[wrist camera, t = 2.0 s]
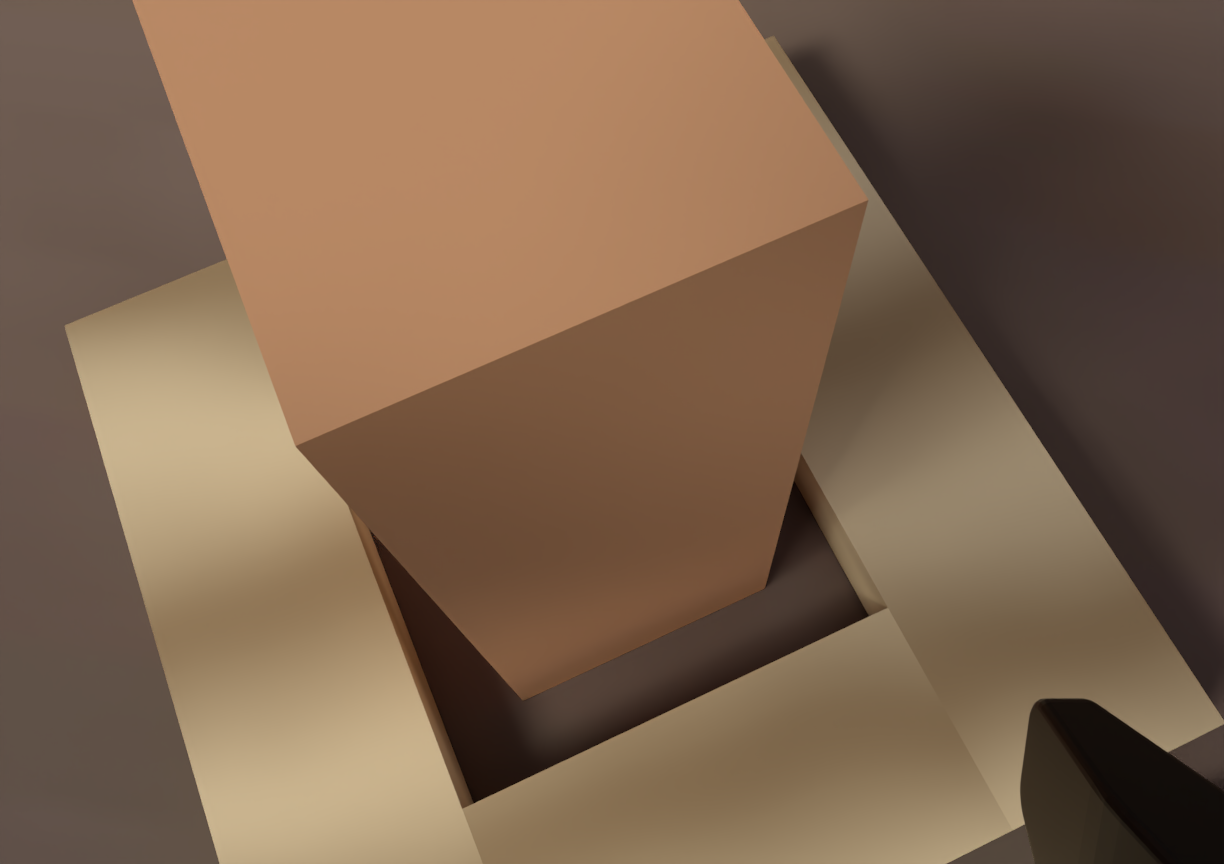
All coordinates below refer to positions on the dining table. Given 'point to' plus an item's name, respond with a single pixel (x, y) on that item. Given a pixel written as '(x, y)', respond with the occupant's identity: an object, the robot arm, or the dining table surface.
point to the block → (528, 290)
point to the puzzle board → (683, 737)
